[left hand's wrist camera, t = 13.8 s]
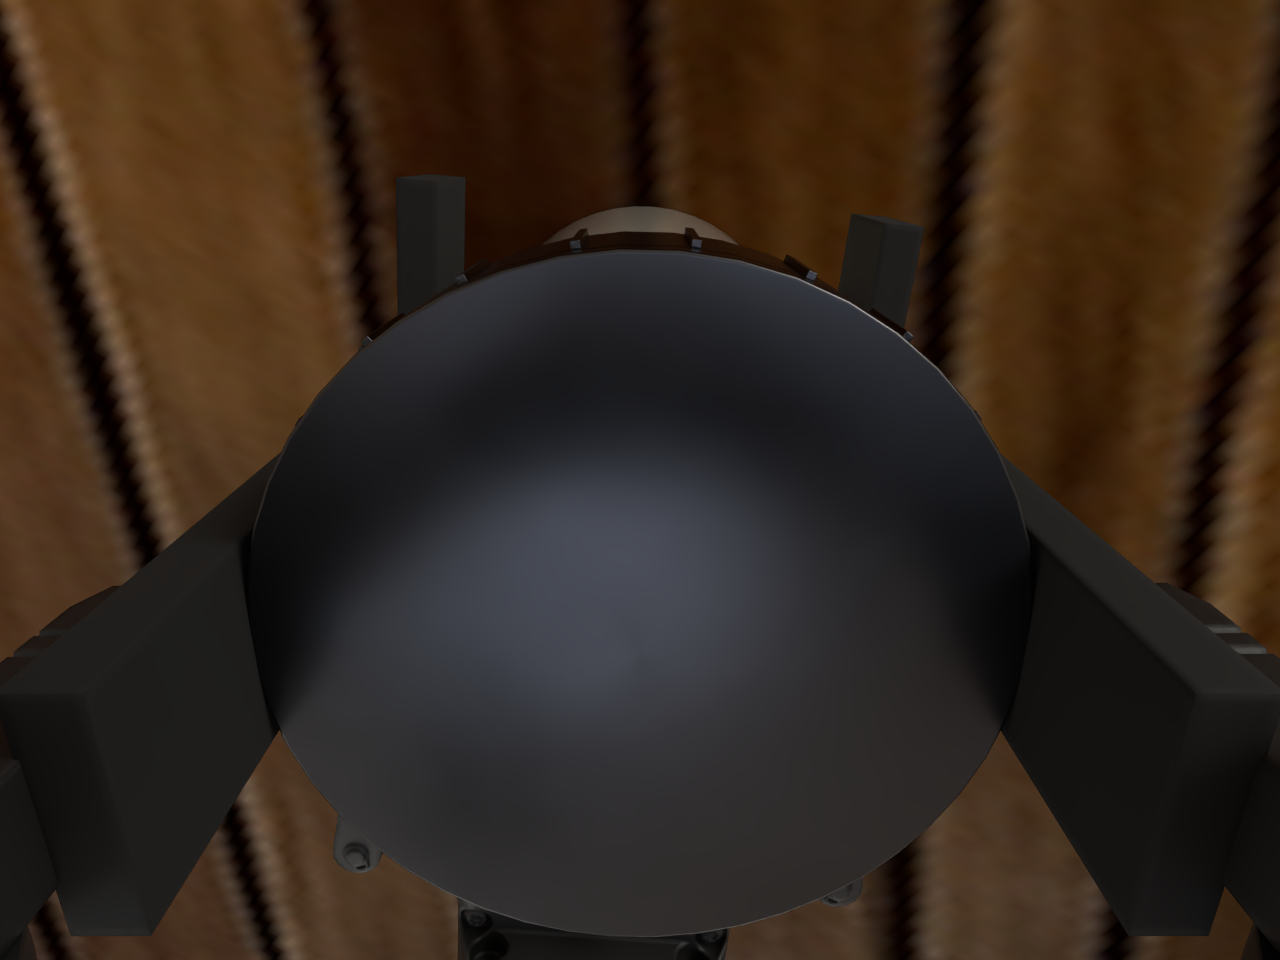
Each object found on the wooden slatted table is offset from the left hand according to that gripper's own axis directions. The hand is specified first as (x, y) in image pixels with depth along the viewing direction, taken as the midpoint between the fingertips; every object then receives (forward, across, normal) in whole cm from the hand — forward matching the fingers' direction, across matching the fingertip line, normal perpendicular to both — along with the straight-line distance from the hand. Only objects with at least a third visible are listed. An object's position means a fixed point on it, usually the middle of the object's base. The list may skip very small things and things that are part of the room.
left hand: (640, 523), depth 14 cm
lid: (-3, 0, 0) cm, 3 cm away
